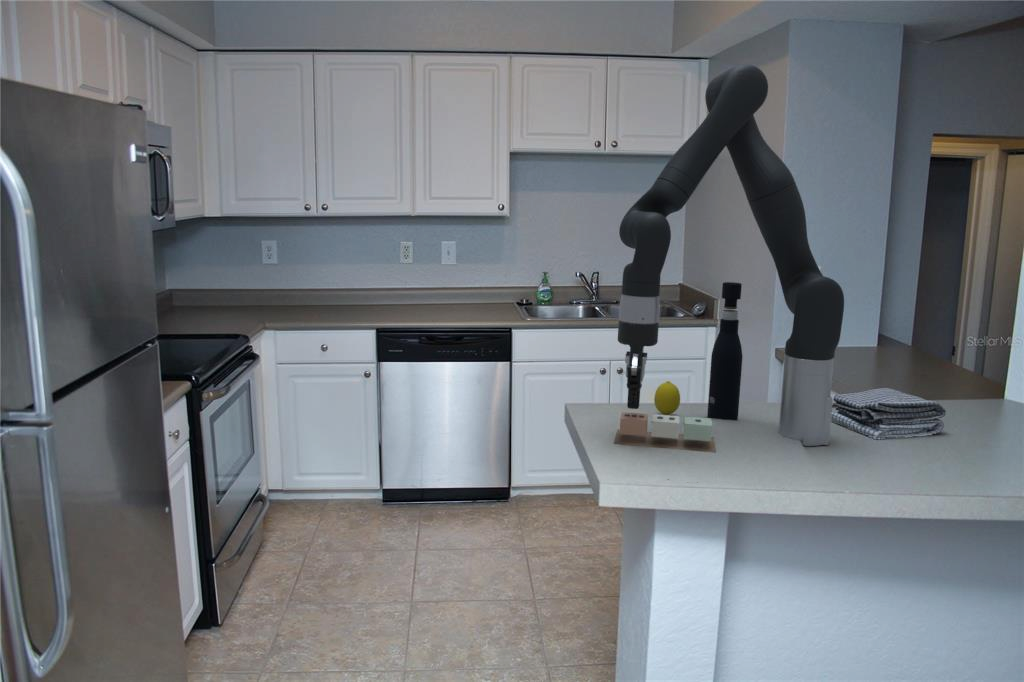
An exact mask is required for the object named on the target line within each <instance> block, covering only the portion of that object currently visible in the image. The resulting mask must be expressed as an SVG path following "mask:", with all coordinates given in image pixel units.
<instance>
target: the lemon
mask: <svg viewBox="0 0 1024 682" xmlns="http://www.w3.org/2000/svg"><path fill="white" fill-rule="evenodd" d="M653 402H654V406H655V408H656V409H657V411H658V412H659V413H661V414H662V415H669V416H671V414H673V413H675V412H676V411H678V409H679V406H680V403H681V394H680V390H679V388H678V387H677V385H676V384H674V383H672V382H671V381H669V380H667V381H665V382H662V383H661V384H660V385H659V386H658V387H657V388H656V390H655V393H654V399H653Z"/></svg>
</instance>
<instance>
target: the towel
mask: <svg viewBox="0 0 1024 682" xmlns="http://www.w3.org/2000/svg"><path fill="white" fill-rule="evenodd" d="M832 399H833V402H835V403H833V402H832V409H834V408H835V411H837V412H833V411H832V412H831V422H832V421H833V423H835V424H836V423H838V424H837V425H839V424H841V425H840V426H842V425H843V426H842V427H844V426H846V427H845V428H847V427H848V428H847V429H849V428H850V429H849V430H852V429H853V430H852V431H854V430H855V431H854V432H857V431H858V432H857V433H859V432H860V433H859V434H861V433H863V434H865V435H864V436H866V435H868V436H870V437H872V438H871V439H873V438H875V439H878V438H880V439H881V438H895V439H896V437H905V436H914V435H924V434H935V433H938V434H940V433H941V432H942V430H943V429H944V427H945V424H944V422H943V420H941V419H942V418H943V417H945V416H946V412H947V411H946V409H945V408H944V406H942V404H940V403H939V402H936V401H935V400H927V399H924V398H922V397H919V396H916V395H915V394H914V395H913V394H909V393H906V392H902V391H901V390H896V389H893V388H888V387H886V388H885V387H883V388H882V387H880V388H873V389H869V390H864V391H860V392H851V393H838V394H835V395H834V397H833V398H832ZM863 434H862V435H863ZM935 435H936V434H935ZM868 436H867V437H868ZM870 437H869V438H870ZM875 439H874V440H875ZM881 440H882V439H881Z"/></svg>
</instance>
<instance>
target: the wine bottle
mask: <svg viewBox="0 0 1024 682" xmlns="http://www.w3.org/2000/svg"><path fill="white" fill-rule="evenodd" d="M742 286H743V285H742V283H741V282H735V281H732V282H731V281H730V282H729V281H728V282H727V281H725V282H722V289H721V290H722V291H721V298H722V299H724V306H723V308H724V309H723V310H722V312H721V317H722V318H720V322H719V332H718V334H717V336H716V339H715V341H714V345H713V348H712V351H711V357H710V358H711V360H710V371H709V372H710V374H709V385H708V387H709V389H708V402H707V403H708V404H707V416H706V418H709V419H713V420H714V419H715V420H726V421H727V420H728V421H738V419H739V408H740V406H739V405H740V397H741V395H740V393H741V383H742V369H743V368H742V367H743V349H742V344H741V340H740V336H739V323H740V321H739V319H738V318H739V317H738V315H739V312H738V310H737V308H738V300H741V298H742Z"/></svg>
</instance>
